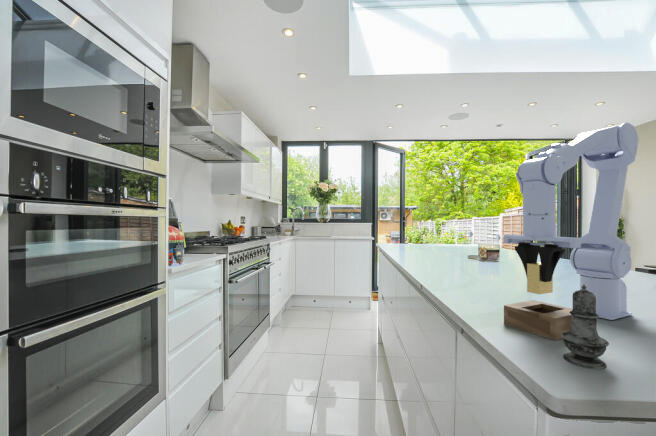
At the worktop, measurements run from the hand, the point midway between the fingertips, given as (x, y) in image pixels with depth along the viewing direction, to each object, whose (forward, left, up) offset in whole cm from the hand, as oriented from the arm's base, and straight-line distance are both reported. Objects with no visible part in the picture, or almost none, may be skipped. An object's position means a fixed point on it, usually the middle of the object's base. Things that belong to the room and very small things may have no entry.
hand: (538, 280), depth 67 cm
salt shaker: (+11, +13, -10) cm, 20 cm away
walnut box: (+1, +1, -10) cm, 10 cm away
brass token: (0, 0, -2) cm, 3 cm away
